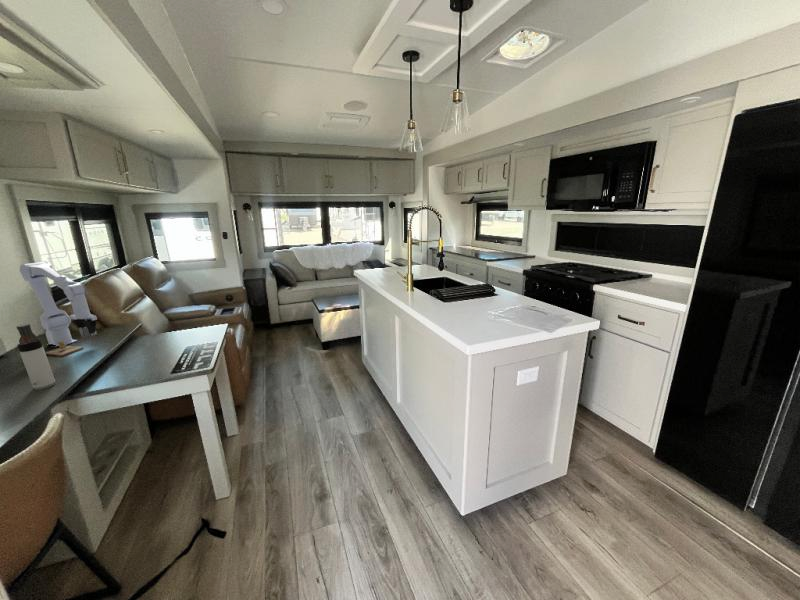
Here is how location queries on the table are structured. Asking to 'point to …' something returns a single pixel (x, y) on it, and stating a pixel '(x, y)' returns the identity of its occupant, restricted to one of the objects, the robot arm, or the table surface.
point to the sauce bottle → (26, 333)
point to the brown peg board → (63, 349)
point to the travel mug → (36, 364)
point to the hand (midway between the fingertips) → (88, 332)
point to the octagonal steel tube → (85, 331)
